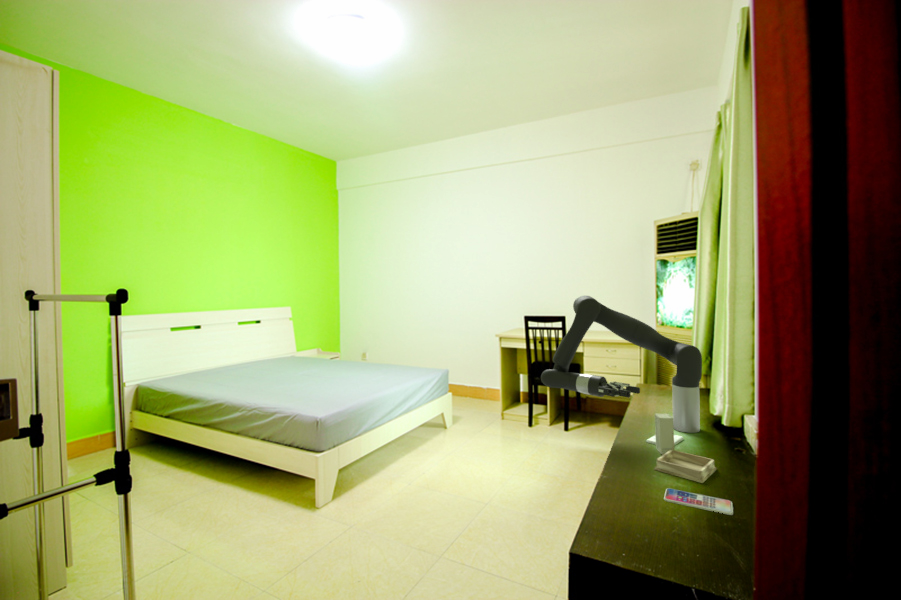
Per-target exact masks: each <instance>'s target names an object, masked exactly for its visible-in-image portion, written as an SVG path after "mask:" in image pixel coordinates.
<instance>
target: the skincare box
mask: <svg viewBox="0 0 901 600" xmlns="http://www.w3.org/2000/svg"><path fill="white" fill-rule="evenodd" d="M654 427H655V429H654V431H655V434H654V435H656V445H655V449H656V450H657V451H658V453H659V454H660V455H664V454H665V453H666V452H668V451H669V450H675V445H674V435H675V434H674V428H673V416H672V415H670V414H669V413H657V412H656V413H654Z"/></svg>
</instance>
